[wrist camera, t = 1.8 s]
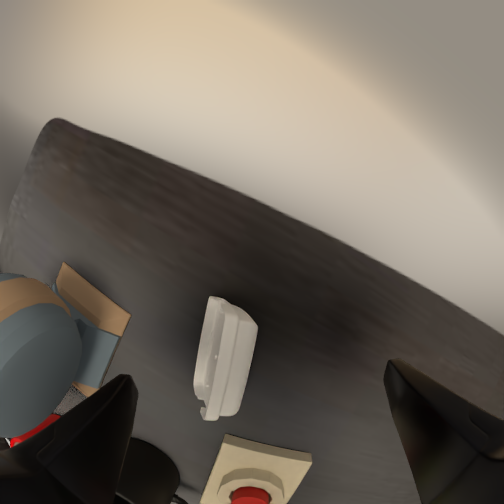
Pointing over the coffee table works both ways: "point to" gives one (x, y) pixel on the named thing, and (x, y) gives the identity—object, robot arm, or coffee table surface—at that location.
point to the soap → (223, 358)
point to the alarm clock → (52, 344)
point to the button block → (255, 471)
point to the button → (250, 496)
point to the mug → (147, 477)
